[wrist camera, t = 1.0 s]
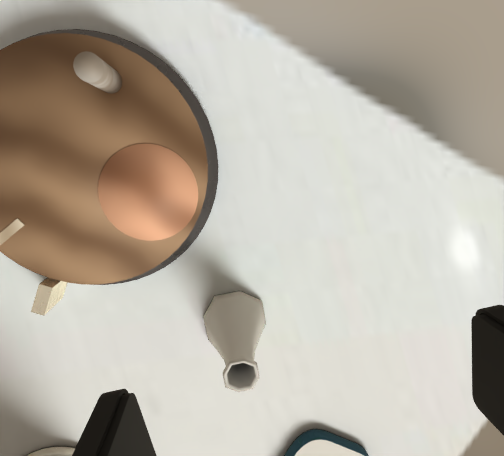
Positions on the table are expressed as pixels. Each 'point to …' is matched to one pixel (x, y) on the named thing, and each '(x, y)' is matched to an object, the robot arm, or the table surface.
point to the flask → (236, 336)
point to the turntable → (94, 160)
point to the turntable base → (54, 289)
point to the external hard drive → (324, 445)
